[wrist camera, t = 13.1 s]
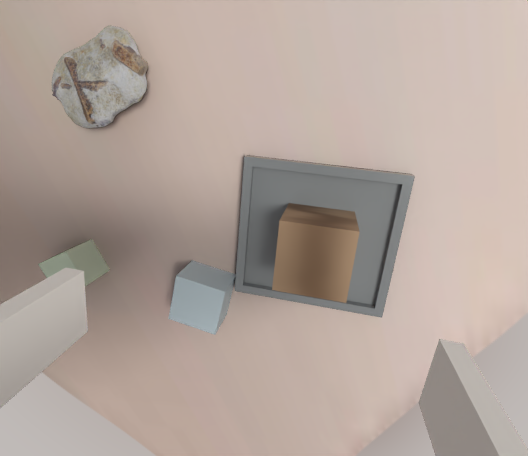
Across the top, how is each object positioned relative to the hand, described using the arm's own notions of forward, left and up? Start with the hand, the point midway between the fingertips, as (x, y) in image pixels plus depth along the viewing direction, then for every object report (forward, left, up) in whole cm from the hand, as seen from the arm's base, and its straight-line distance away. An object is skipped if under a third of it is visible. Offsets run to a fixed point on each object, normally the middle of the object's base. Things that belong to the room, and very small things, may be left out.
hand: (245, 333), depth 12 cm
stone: (-16, +8, -21) cm, 27 cm away
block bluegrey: (-8, -10, -21) cm, 25 cm away
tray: (+2, -3, -21) cm, 21 cm away
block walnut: (+2, -3, -20) cm, 21 cm away
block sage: (-23, -10, -21) cm, 33 cm away
